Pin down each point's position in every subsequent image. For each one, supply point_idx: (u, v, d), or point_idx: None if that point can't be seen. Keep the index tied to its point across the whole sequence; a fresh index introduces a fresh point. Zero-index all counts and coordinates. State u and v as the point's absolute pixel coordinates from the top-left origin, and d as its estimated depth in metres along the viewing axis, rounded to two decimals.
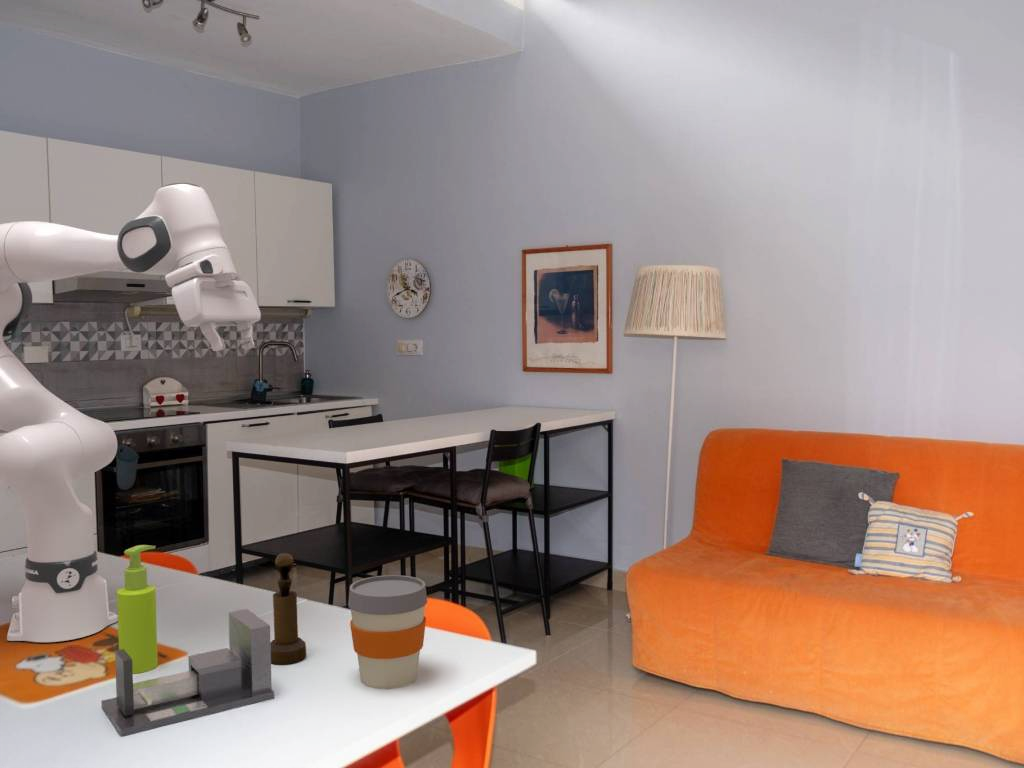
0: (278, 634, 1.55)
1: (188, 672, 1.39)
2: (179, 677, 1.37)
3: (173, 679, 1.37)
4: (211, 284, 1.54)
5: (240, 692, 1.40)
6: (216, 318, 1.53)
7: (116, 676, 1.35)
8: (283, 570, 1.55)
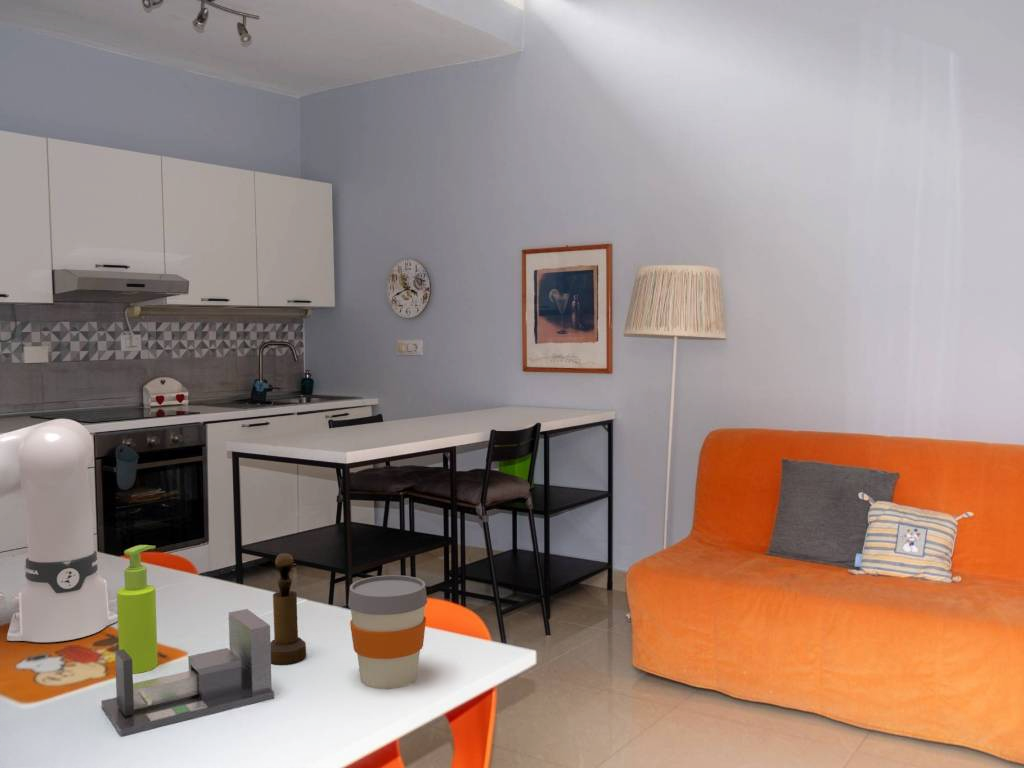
0: (278, 634, 1.55)
1: (188, 672, 1.39)
2: (179, 677, 1.37)
3: (173, 679, 1.37)
4: None
5: (240, 692, 1.40)
6: None
7: (116, 676, 1.35)
8: (283, 570, 1.55)
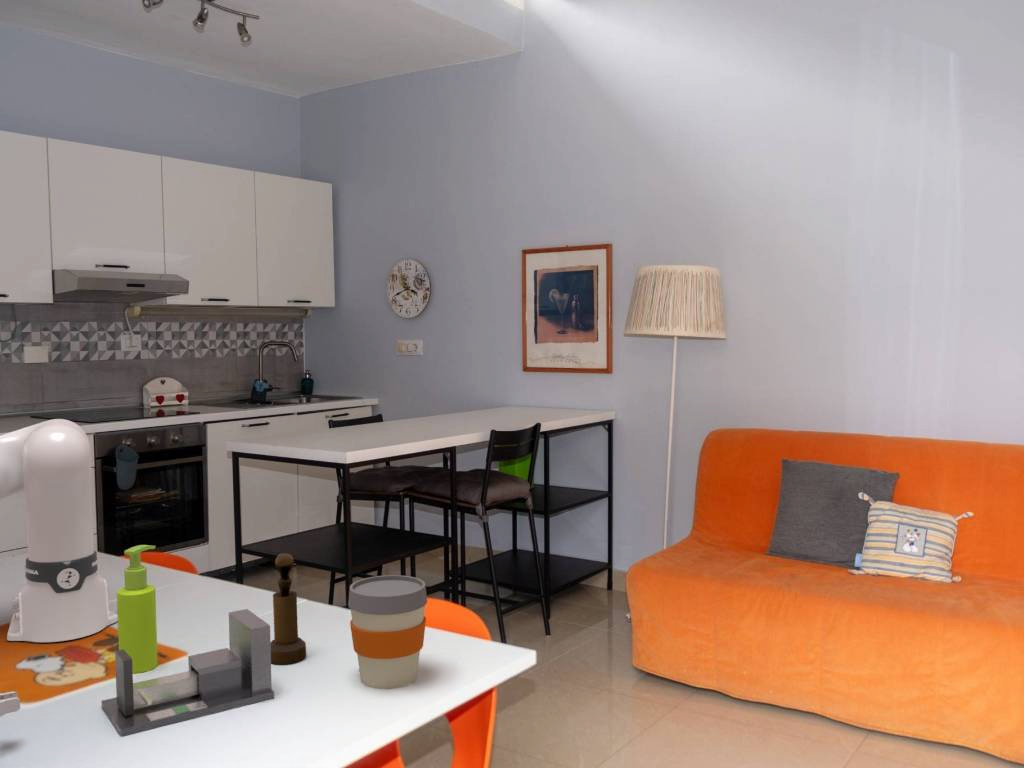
0: (278, 634, 1.55)
1: (188, 672, 1.39)
2: (179, 677, 1.37)
3: (173, 679, 1.37)
4: None
5: (240, 692, 1.40)
6: None
7: (116, 676, 1.35)
8: (283, 570, 1.55)
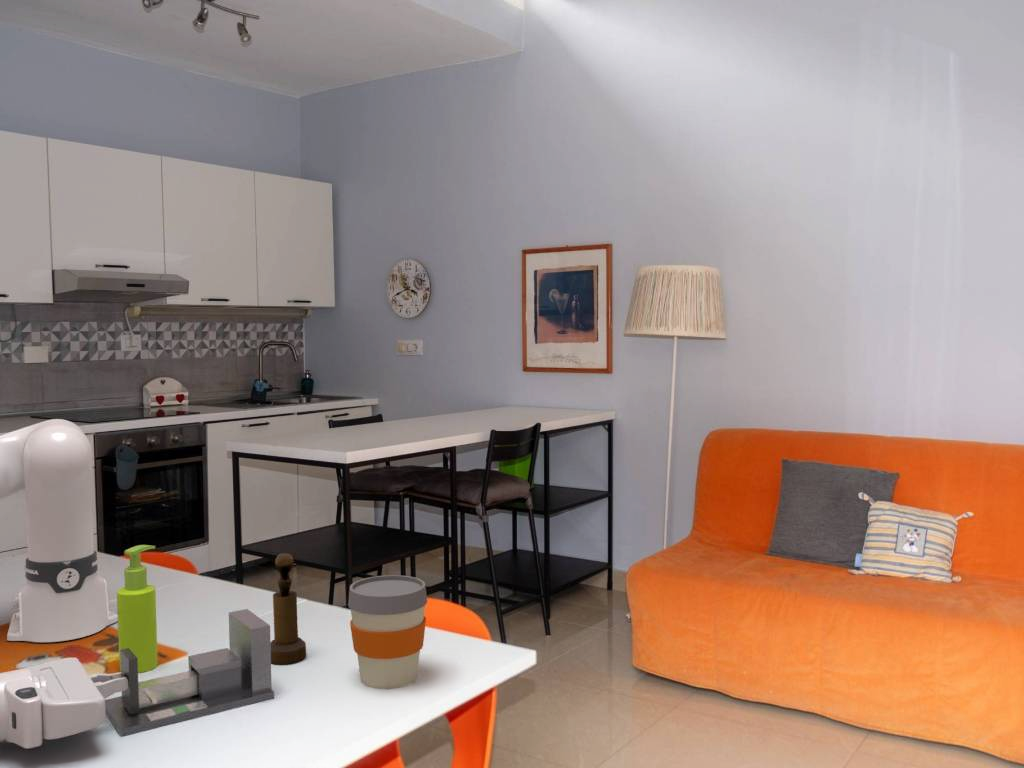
0: (278, 634, 1.55)
1: (193, 671, 1.40)
2: (184, 676, 1.38)
3: (178, 678, 1.37)
4: (47, 692, 1.23)
5: (240, 692, 1.40)
6: (96, 688, 1.25)
7: None
8: (283, 570, 1.55)
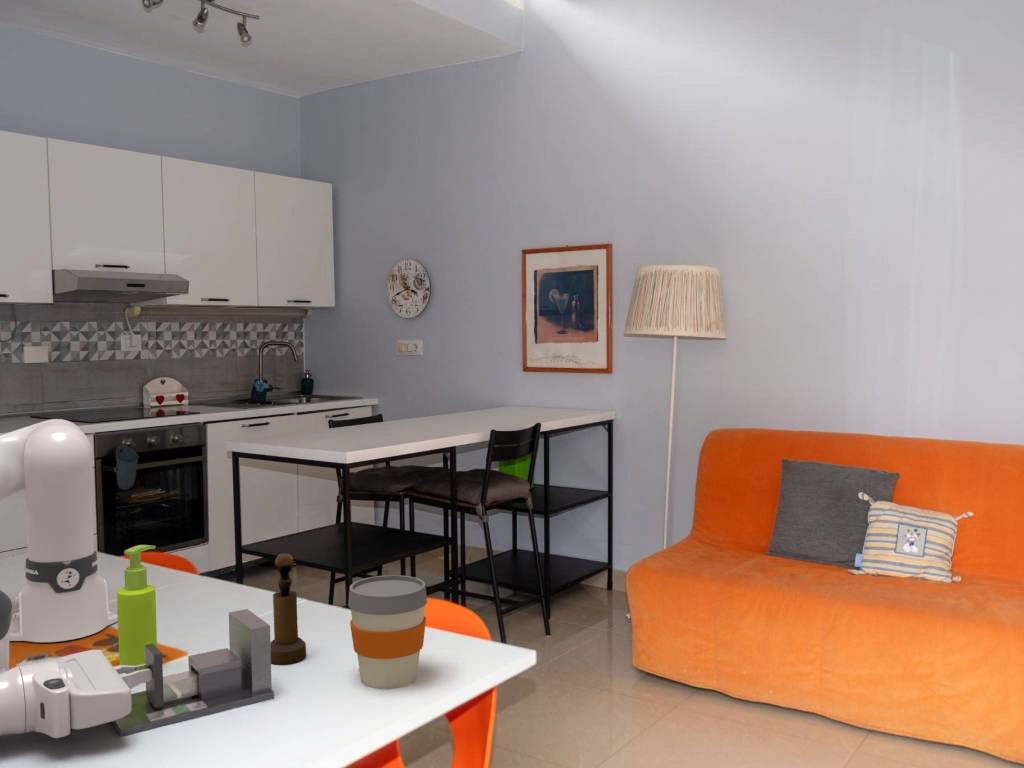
0: (278, 634, 1.55)
1: None
2: None
3: None
4: (74, 683, 1.25)
5: (240, 692, 1.40)
6: (121, 679, 1.28)
7: None
8: (283, 570, 1.55)
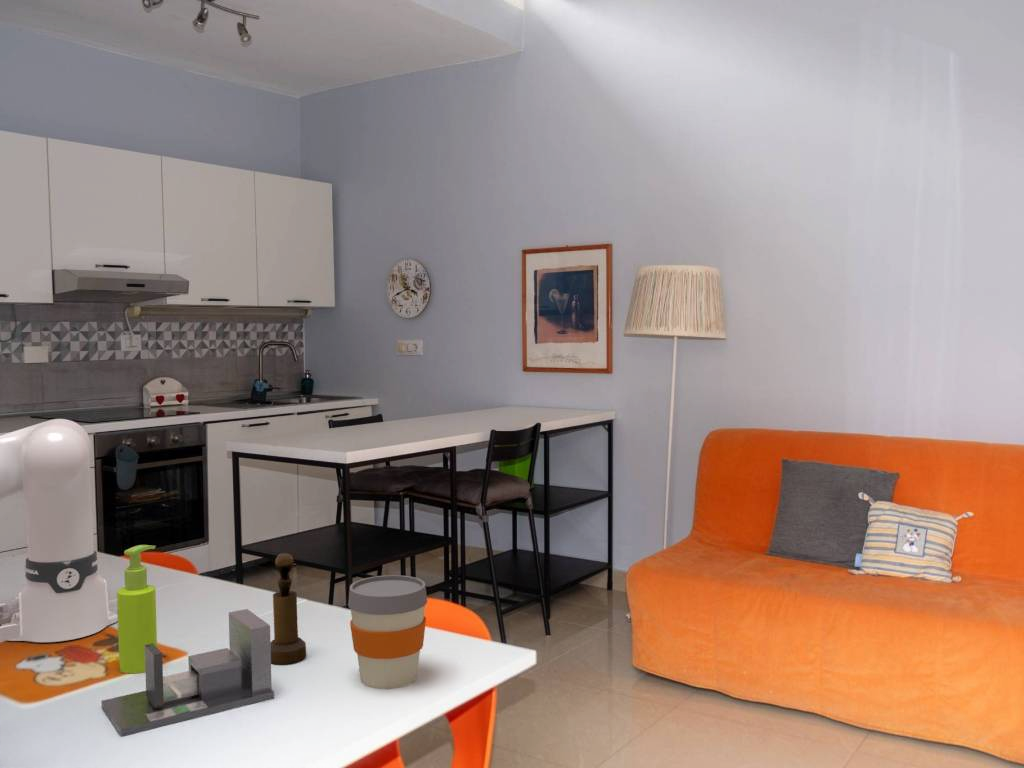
0: (278, 634, 1.55)
1: None
2: None
3: None
4: None
5: (240, 692, 1.40)
6: None
7: (146, 670, 1.37)
8: (283, 570, 1.55)
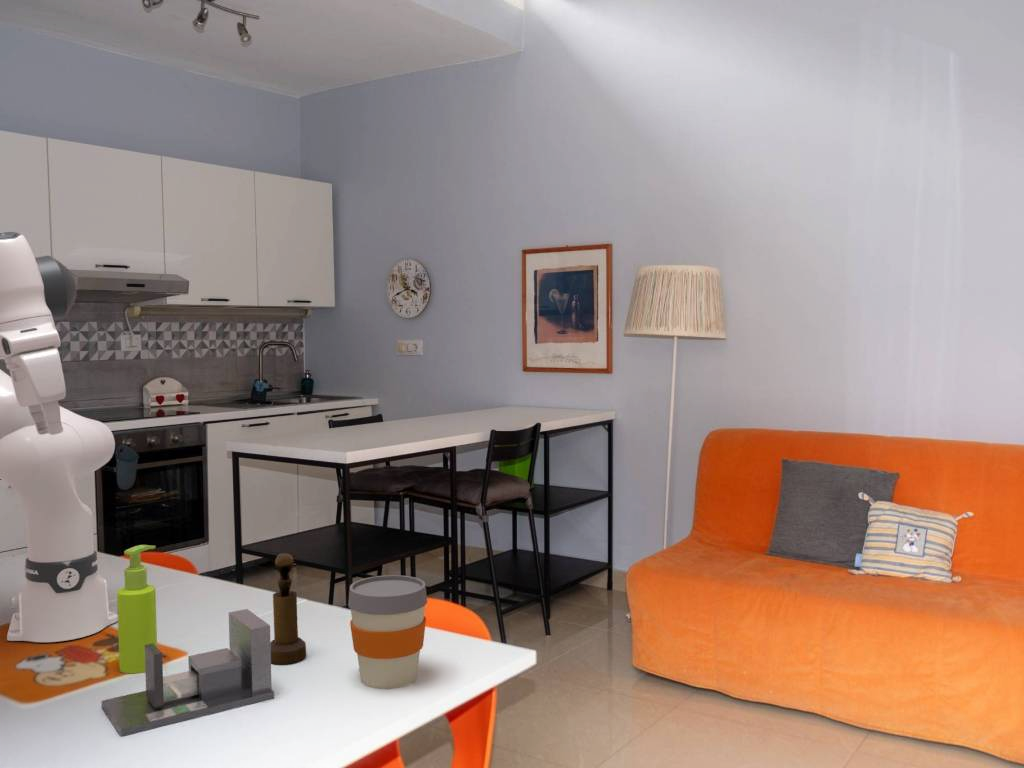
0: (278, 634, 1.55)
1: None
2: None
3: None
4: None
5: (240, 692, 1.40)
6: None
7: (146, 670, 1.37)
8: (283, 570, 1.55)
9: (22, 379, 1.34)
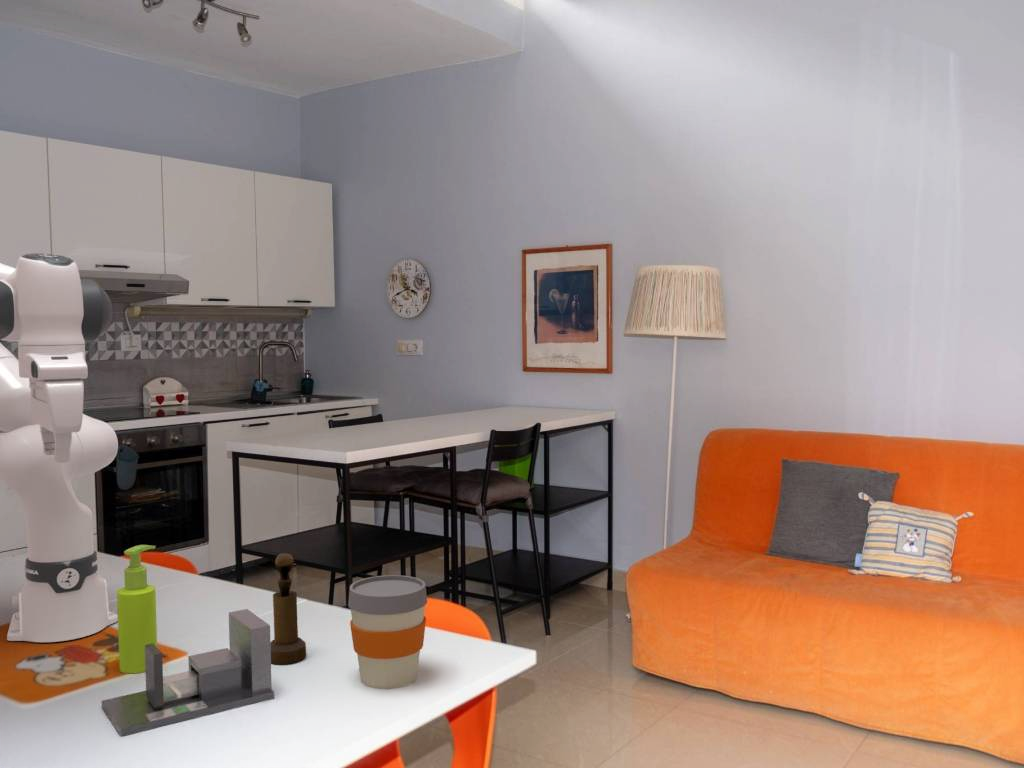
0: (278, 634, 1.55)
1: None
2: None
3: None
4: None
5: (240, 692, 1.40)
6: None
7: (146, 670, 1.37)
8: (283, 570, 1.55)
9: (41, 400, 1.36)
